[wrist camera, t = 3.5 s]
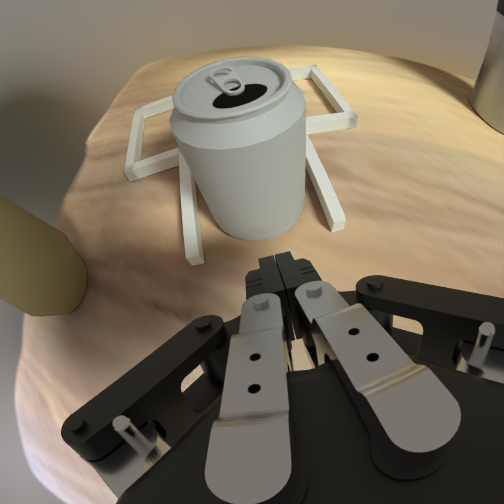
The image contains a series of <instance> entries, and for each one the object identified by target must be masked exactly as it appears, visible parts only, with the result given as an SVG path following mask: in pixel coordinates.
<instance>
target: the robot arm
mask: <svg viewBox="0 0 504 504" xmlns="http://www.w3.org/2000/svg"><path fill="white" fill-rule="evenodd" d="M469 101H470V104H471V105H472V107H473V108H474V110H475V111H476V112H477V113H478V114H479V115H480V116H481V117H482V118H483V119H484V120H485V121H486V122H487V123H488V124H489V125H491V126H492V127H493V128H495V129H496V130H498V131H499V132H501V133H503V134H504V0H498V4H497V11H496V15H495V19H494V23H493V28H492V32H491V36H490V39H489V43H488V47H487V50H486V54H485V57H484V60H483V63H482V66H481V69H480V71H479V74H478V77H477V80H476V82H475V85H474V88H473V90H472V93H471V95H470V98H469ZM258 260H259V266H260V269H257V270H253V271H249V273H248V274H247V275H246V277H245V281H246V301H245V302H244V303H243V305H242V310H241V315H240V316H238V317H236V318H235V319H232V320H230V321H228V322H225V323H224V322H223V320H222V318H221V317H219V316H216V315H207V316H203V317H200V318H197V319H195V320H194V321H192V322H191V323H189V324H188V325H187V326H186V327H184V328H183V329H182V330H181V331H179V332H178V333H177V334H176V335H174V336H173V337H172V338H171V339H169V340H168V341H167V342H165V343H164V344H163V345H162V346H160V347H159V348H158V349H156V350H155V351H154V352H153V353H151V354H150V355H149V356H147V357H146V358H145V359H144V360H142V361H141V362H140V363H138V364H137V365H136V366H135V367H133V368H132V369H131V370H129V371H128V372H127V373H126V374H124V375H123V376H122V377H120V378H119V379H118V380H116V381H115V382H114V383H112V384H111V385H110V386H109V387H107V388H106V389H105V390H103V391H102V392H101V393H99V394H98V395H97V396H95V397H94V398H93V399H91V400H90V401H89V402H87V403H86V404H85V405H83V406H82V407H81V408H79V409H78V410H77V411H75V412H74V413H73V414H71V415H70V416H69V417H68V418H67V419H66V420H65V422H64V423H63V425H62V429H61V436H62V438H63V440H64V441H65V442H66V443H67V444H68V445H69V446H70V447H71V448H72V449H73V450H74V451H76V452H77V453H78V454H79V455H80V457H81V458H82V459H83V460H84V461H86V462H87V463H88V464H89V465H90V466H92V467H93V468H94V469H95V470H96V472H97V473H98V474H99V476H100V477H101V478H102V479H103V481H104V482H105V483H106V485H107V486H108V487H109V488H110V489H111V491H112V492H113V493H114V494H115V495H116V497H117V498H118V501H117V503H116V504H504V298H499V297H494V296H489V295H483V294H478V293H473V292H467V291H462V290H457V289H451V288H446V287H440V286H435V285H430V284H424V283H419V282H414V281H408V280H403V279H398V278H392V277H387V276H381V275H373V276H367V277H364V278H362V279H361V280H359V281H358V282H357V284H356V291H346V292H339V291H337V290H336V289H335V288H334V287H333V286H332V285H331V284H330V283H328V282H325V281H322V279H321V278H320V276H319V275H318V273H317V271H316V270H315V268H314V267H313V265H312V264H311V262H310V261H308V260H306V259H304V258H302V259H298V260H294V258H293V257H292V255H291V253H290V251H288V252H284V253H280V254H276V255H275V259H274V256H273V255H272V256H268V257H263V258H259V259H258ZM275 260H276V262H275ZM276 264H277V265H276ZM393 315H397V316H401V317H405V318H409V319H413V320H416V321H418V322H419V323H420V324H421V325H422V327H423V335H420V334H416V333H413V332H409V331H405V330H402V329H398V328H394V327H393ZM292 325H293V327H292ZM293 329H294V332H295V335H296V339H300V338H303V341H304V347H305V352H306V354H307V357H308V359H309V361H310V363H311V365H312V368H313V369H310V370H301V371H294V365H293V357H292V352H291V349H292V344H291V341H293V340H295V337H294V332H293ZM198 365H201V367H202V369H203V371H204V373H203V374H202V375H201V376H200V377H199V378H198V379H197V380H196V381H195V382H194V383H192V384H191V385H190V386H189V387H188V388H187V389H186V390H185V391H184V392H183V393H182V391H181V383H182V381H183V379H184V378H185V377H186V376H187V375H188V374H190V373H191V372H192V371H193V370H194V369H195V368H196V367H197V366H198Z"/></svg>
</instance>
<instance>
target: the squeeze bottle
mask: <svg viewBox="0 0 504 504" xmlns="http://www.w3.org/2000/svg"><path fill="white" fill-rule="evenodd" d="M87 278H88V276H87V270H86V266H85V265H84V263H83V262H82V260H81V259H80V257H79V255H78V254H77V252H76V251H75V249H74V248H73V246H72V244H71V243H70V241H69V239H68V238H67V236H66V234H64V233H62V232H61V231H59V230H57V229H55V228H54V227H52V226H50V225H49V224H47V223H45V222H44V221H42V220H40V219H38V218H37V217H35V216H34V215H32V214H31V213H29V212H27V211H26V210H24V209H23V208H21V207H19V206H18V205H16V204H15V203H13V202H12V201H10V200H9V199H7V198H6V197H4V196H3V195H1V194H0V298H1V299H3V300H4V301H6V302H8V303H9V304H11V305H13V306H15V307H16V308H18V309H20V310H22V311H24V312H25V313H27V314H29V315H31V316H52V315H62V314H68V313H70V312H71V311H73V310H75V308H76V307H77V306H78V305H79V303H80V302H81V301H82V298H83V296H84V293H85V291H86V286H87Z"/></svg>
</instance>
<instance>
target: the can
mask: <svg viewBox="0 0 504 504" xmlns="http://www.w3.org/2000/svg"><path fill="white" fill-rule="evenodd" d="M172 100H173V105H174V108H173V111H172V114H171V117H170V125H171V131H172V133H173V136H174V138H175V140H176V142H177V144H178V146H179V148H180V150H181V152H182V154H183V156H184V159H185V161H186V163H187V165H188V167H189V169H190V171H191V173H192V175H193V177H194V179H195V181H196V183H197V185H198V187H199V189H200V191H201V193H202V196H203V198H204V200H205V202H206V204H207V206H208V208H209V210H210V212H211V214H212V216H213V218H214V220H215V221H216V222H217V224H218V225H219V226H220V228H221V229H222V230H223V231H225V232H226V233H228V234H230V235H231V236H233V237H235V238H239V239H243V240H247V241H257V240H267V239H270V238H273V237H275V236H278V235H281V234H282V233H284V232H285V231H286V230H288V229H289V228H290V227H292V226H293V225H294V223H295V222H296V221H297V219H298V218H299V216H300V215H301V212H302V209H303V205H304V198H305V164H306V102H305V98H304V94H303V91H302V90H301V89H300V88H299V87H298V86H297V85H296V84H295V83H294V82H293V80H292V76H291V72H290V71H289V70H288V69H287V68H286V67H285V66H284V65H282V64H280V63H278V62H276V61H273V60H271V59H266V58H261V57H235V58H228V59H223V60H220V61H216V62H213V63H210V64H208V65H205V66H203V67H201V68H199V69H197V70H195V71H194V72H192V73H191V74H189V75H188V76H186V77H185V78H184V79H183V80H182V81H181V82H180V83H179V85H178V86H177V87H176V88H175V91H174V93H173V96H172Z"/></svg>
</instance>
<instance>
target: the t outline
mask: <svg viewBox="0 0 504 504" xmlns="http://www.w3.org/2000/svg"><path fill="white" fill-rule="evenodd" d="M287 69H288V70H289V71H290V72H291V76H292V80H293V81H294V80H302V79H310V78H311V79H312V80H313V81H314V82H315V84H316V85H317V86H318V88H319V89H320V90H321V92H322V93H323V94H324V96H325V97H326V98H327V100H328V101H329V103H330V104H331V105H332V107H333V108H334V110H335V111H336V112H337V113H333V114H325V115H318V116H311V117H306V164H305V167H306V169H307V172H308V174H309V176H310V179H311V181H312V184H313V186H314V189H315V191H316V193H317V196H318V198H319V201H320V203H321V206H322V209H323V211H324V214H325V216H326V219H327V222H328V224H329V227H330V230H331V232H335V231H339V230H343V229H344V226H345V223H346V218H345V215H344V213H343V210H342V208H341V206H340V203H339V201H338V199H337V196H336V194H335V192H334V190H333V187H332V185H331V183H330V181H329V178H328V176H327V174H326V172H325V170H324V168H323V166H322V164H321V161H320V159H319V157H318V155H317V153H316V151H315V149H314V147H313V145H312V143H311V141H310V139H309V137H308V135H309V134H315V133H321V132H328V131H334V130H341V129H349V128H356V124H357V118H358V117H357V115H356V114H355V113H354V111H353V110H352V109H351V107H350V106H349V105H348V103H347V102H346V101H345V99H344V98H343V97H342V96H341V94H340V93H339V92H338V91H337V89H336V88H335V87H334V86H333V85H332V83H331V82H330V81H329V80H328V79H327V78H326V76H325V75H324V74H323V73H322V72H321V71H320V69H319V68H318V67H317V66H316V65H313V66H303V67H294V68H287ZM172 96H173V95H172ZM172 96H169V97H166V98H163V99H160V100H158V101H155V102H152V103H149V104H147V105H144V106H142V107H139V108H137V109H135V112H134V117H133V122H132V127H131V132H130V138H129V144H128V150H127V156H126V163H125V170H124V174H125V175H126V176H127V178H128V179H129V180H130V182H132V181H135V180H138V179H140V178H143V177H146V176H149V175H152V174H155V173H158V172H161V171H164V170H167V169H170V168H173V167H176V166H179V173H180V192H181V208H182V221H183V234H184V245H185V255H186V259H187V260H188V261H189V262H190V264H191V265H192V266H194V265H198V264H202V263H205V261H204V254H203V246H202V239H201V231H200V222H199V214H198V205H197V195H196V185H195V179H194V177H193V175H192V173H191V171H190V169H189V167H188V165H187V163H186V161H185V159H184V156H183V154H182V152H181V150H180V148H179V147H178V148H175V149H172V150H169V151H166V152H163V153H160V154H157V155H154V156H152V157H149V158H146V159H143V160H141V151H142V142H143V134H144V126H145V119H146V118H148V117H151V116H154V115H157V114H159V113H162V112H165V111H168V110H171V109H173V108H174V105H173V100H172Z"/></svg>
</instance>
